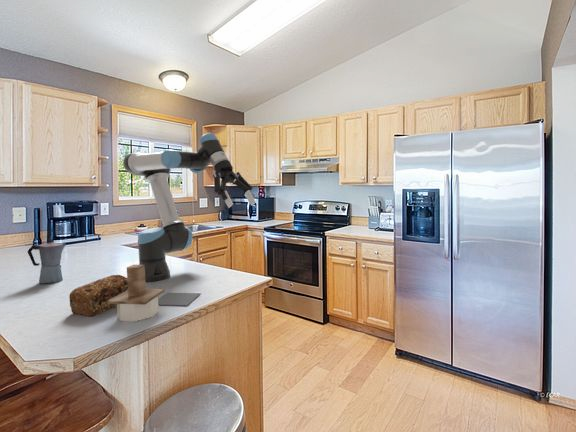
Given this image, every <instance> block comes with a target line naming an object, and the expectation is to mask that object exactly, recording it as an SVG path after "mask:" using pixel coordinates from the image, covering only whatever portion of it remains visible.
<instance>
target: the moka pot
mask: <svg viewBox="0 0 576 432" xmlns="http://www.w3.org/2000/svg"><path fill="white" fill-rule="evenodd" d="M53 241H54V239H53V238H49V239H48V242H47V243H41V244H37V245H33V244H32V245H31V246H30V248H29V249H28V250H27V254H28V256H29V258H30V261H31V263H32V265H33V266H35V267H36V266H37V267H38V266H40V265H41V268H40V272H39V279H38V283H40V284H54V283H59V282H62V281H63V280H64V279H63V272H62V265H61V260H62V254H63V251H64V248H65V246H67V244H66V243H64V242H63V243H61V242H60V243H59V242H53ZM33 250H38V251H39V258H40V262H41V264H40V263H37V261H35V258H34V255H33V253H32V251H33Z"/></svg>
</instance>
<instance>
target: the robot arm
mask: <svg viewBox="0 0 576 432" xmlns="http://www.w3.org/2000/svg"><path fill="white" fill-rule="evenodd" d="M220 142H221V141H220V139H218V137H217V135H216V134H215V133H212V132H207V133H205V134H203V135H202V136H201V137H200V138H199V143H200V145H201V146H200V147H199V149H198V150H197V151H189V150H187V151H185V150H178V149H177V150H176V149H165V150H163V151H159V152H151V153H146V152H145V153H143V152H131V153H128V154H127V155H126V156H124V158H123V161H122V165H123V168H124V169H125V171H126V172H127V173H129V174H131V175H132V176H138V177H140V176H143V177H145V180H146V182H147V183H149V184H150V186H151V190H152V193H153V196H154V200H155V203H156V207H157V210H158V214H159V216H160V220H161V224H162V226H161V227H152V228H151V227H150V228H147V229H143V230H142V231H140V232H138V237H137V246H138V247H137V248H138V258H139V259H138V260H139V261H138V262H139V263H138V265H145V282H156V281H161V280H162V281H163V280H166V279H168V278H169V277H170V276H171V270H170V268H169V266H168V263H167V261H166V254H169V253H175V252H182V251H184V250H187V249H189V248H190V247H191V245H192V243H193V239H194V238H193V236H194V235H193V231H192V229H191V228H189V227H188V226H185V223H184V221H182V220H180V217H179V216H180V215H179V214H178V210H177V207H176V204H175V199H174V197H173V194H172V192H171V188H170V184H169V181H168V178H169V177H170V174H171V172H172V171H171V169H188V170H190V172H192V173H195V174H197V175H198V174H199V175H200V174H202V173H203V171H205V170H206V169H207V168H208V166H209V165H210V164H211V166H212V168H213V169H214V171H215V172H214V173H213V175H212V177H213V180H214V181H213V183H214V185H213V186H214V193H215V194H218V196H221V198H222V200H223V201H224V203H225V205H226V206H227V208H228V209H230V208H231V207H232V206H233V205H234V203H233V200H232V199H231V196H230V195H229V193H228V191H227V190H226V185H227V184H232V185H235V186H236V187H238V188H239V189H240V190H241V191H243V192H244V195H245V197H246V198H247V201H248V203H249V205H250V206H254V205H255V204H256V203H257V201H256V200H255V198H254V195H253V193H252V190H253V186H251V184H250V183H248V181H247V180H246V179H245V178H244V177H243V176H242V175H241V173H240V172H239V171H237V172H234V171H233V169H234V168H233V165H232V163H231V161H230V160H229V158H228V156H227V154H226V152H225V150H224V149H223V147H222V144H221V143H220Z"/></svg>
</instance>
